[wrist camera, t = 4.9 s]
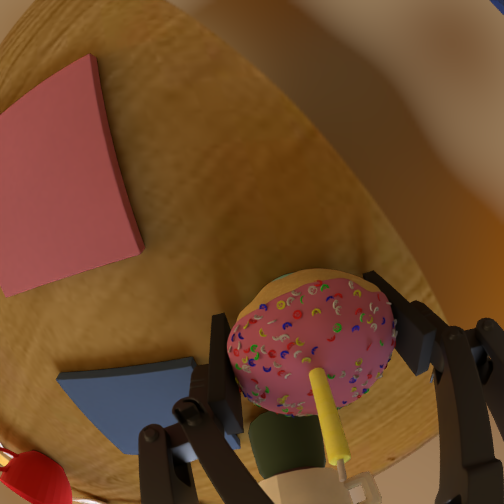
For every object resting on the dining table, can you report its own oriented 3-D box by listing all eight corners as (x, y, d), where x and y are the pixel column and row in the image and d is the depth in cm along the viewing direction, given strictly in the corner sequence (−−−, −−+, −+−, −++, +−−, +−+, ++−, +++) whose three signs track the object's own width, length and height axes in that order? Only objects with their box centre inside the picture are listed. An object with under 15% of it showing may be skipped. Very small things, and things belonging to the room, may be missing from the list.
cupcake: (197, 308, 16) (175, 507, 5) (303, 208, 15) (469, 344, 3) (288, 374, 19) (329, 523, 8) (379, 299, 17) (487, 426, 6)
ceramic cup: (14, 421, 21) (-9, 468, 11) (94, 481, 26) (84, 525, 17) (-8, 422, 22) (-27, 459, 12) (58, 477, 27) (47, 513, 18)
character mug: (250, 452, 23) (263, 559, 10) (208, 423, 20) (210, 557, 8) (349, 412, 22) (395, 522, 9) (325, 374, 19) (385, 521, 7)
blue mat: (192, 356, 17) (191, 365, 17) (240, 440, 22) (240, 448, 21) (59, 372, 17) (55, 379, 17) (126, 447, 22) (124, 454, 21)
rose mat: (96, 57, 11) (89, 52, 10) (146, 248, 15) (141, 254, 14) (-29, 150, 11) (-37, 151, 10) (12, 292, 15) (5, 298, 14)
